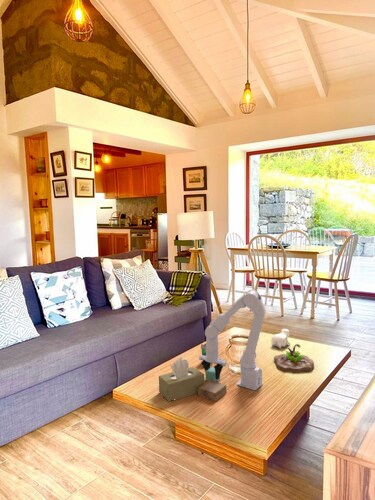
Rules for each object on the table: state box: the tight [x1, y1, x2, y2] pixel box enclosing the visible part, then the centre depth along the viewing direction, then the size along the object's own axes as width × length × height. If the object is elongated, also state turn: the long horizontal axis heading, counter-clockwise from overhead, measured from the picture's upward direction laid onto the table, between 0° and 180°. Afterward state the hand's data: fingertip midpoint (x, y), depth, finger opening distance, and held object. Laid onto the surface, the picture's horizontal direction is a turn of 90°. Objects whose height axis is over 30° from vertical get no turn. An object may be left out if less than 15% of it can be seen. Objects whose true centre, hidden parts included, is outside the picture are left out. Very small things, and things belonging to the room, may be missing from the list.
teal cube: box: [204, 366, 221, 382], centre depth 173 cm, size 5×5×5 cm
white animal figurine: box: [270, 328, 291, 350], centre depth 217 cm, size 9×8×15 cm
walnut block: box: [197, 380, 227, 402], centre depth 159 cm, size 9×9×4 cm
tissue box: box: [158, 357, 205, 402], centre depth 161 cm, size 19×10×16 cm, turn 121°
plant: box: [273, 343, 315, 373], centre depth 188 cm, size 20×20×11 cm
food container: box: [200, 343, 206, 356], centre depth 197 cm, size 12×6×10 cm, turn 143°
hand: (212, 377), depth 173 cm, fingers closed on teal cube, 5 cm apart
